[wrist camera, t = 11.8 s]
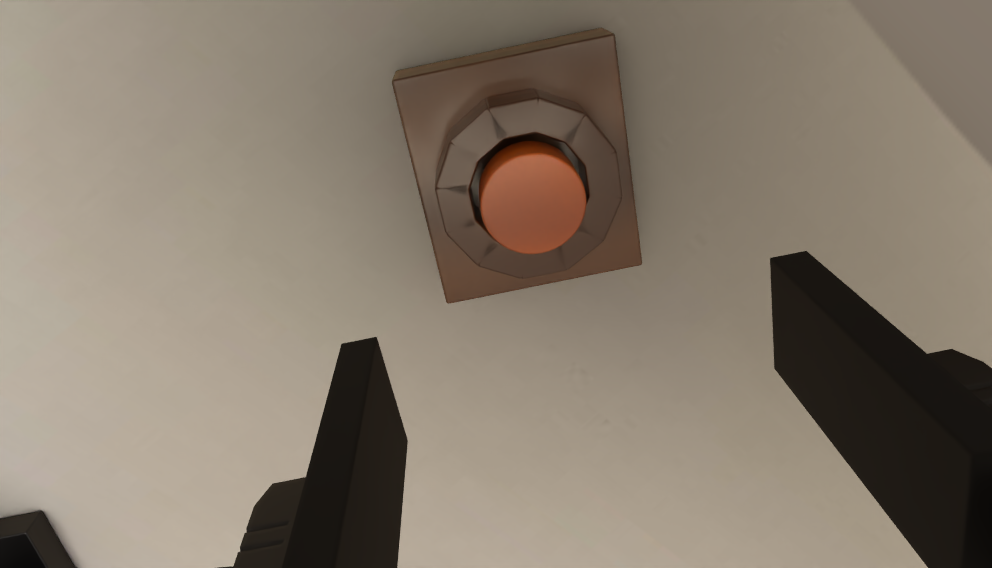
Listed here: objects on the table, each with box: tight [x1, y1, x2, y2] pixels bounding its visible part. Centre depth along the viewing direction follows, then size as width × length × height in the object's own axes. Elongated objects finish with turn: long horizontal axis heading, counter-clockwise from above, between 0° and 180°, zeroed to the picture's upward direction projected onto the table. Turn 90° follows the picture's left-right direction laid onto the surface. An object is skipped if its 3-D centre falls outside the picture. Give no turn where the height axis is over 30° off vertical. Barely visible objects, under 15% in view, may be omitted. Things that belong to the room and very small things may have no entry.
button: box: [479, 141, 586, 254], centre depth 26 cm, size 4×4×2 cm
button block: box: [392, 28, 642, 303], centre depth 28 cm, size 9×8×4 cm
